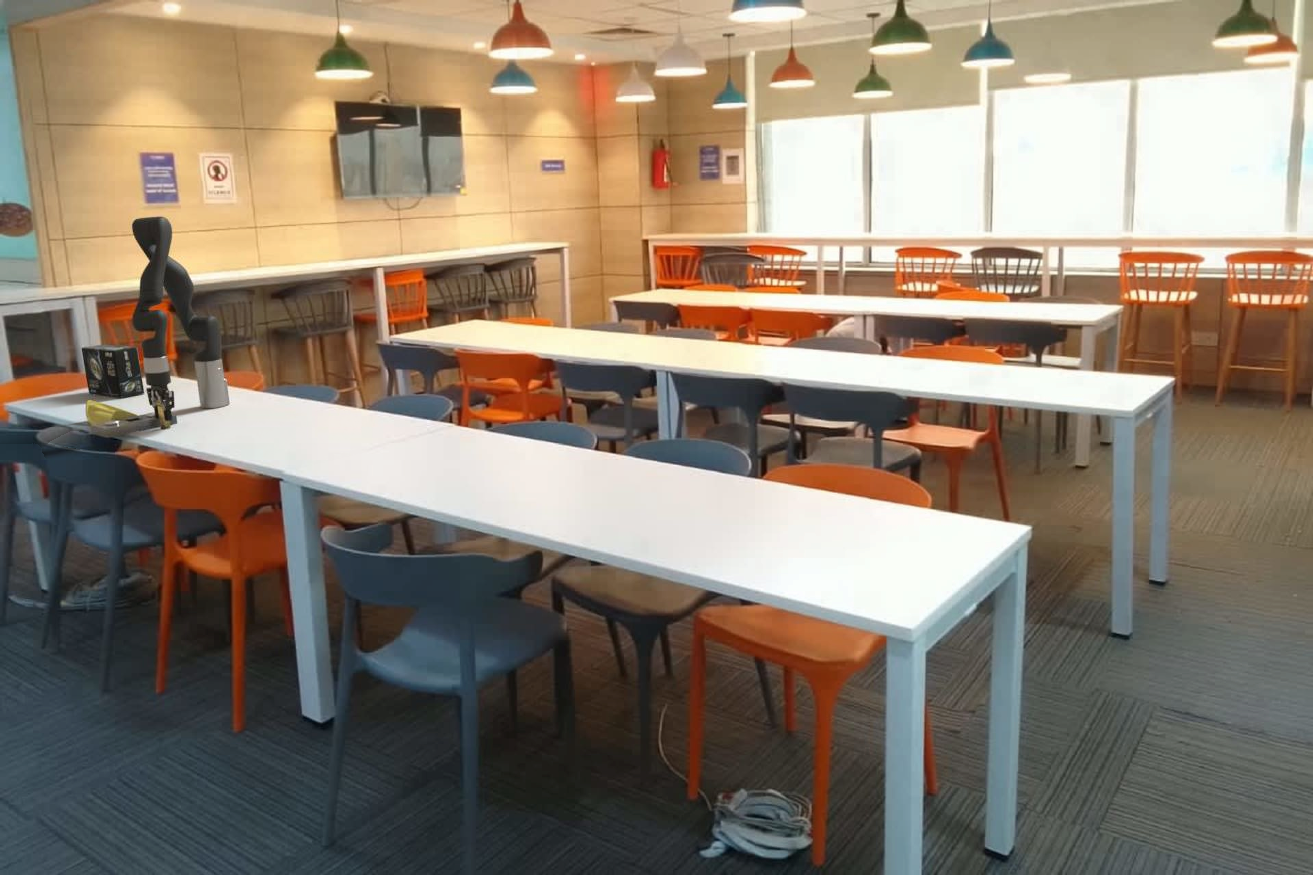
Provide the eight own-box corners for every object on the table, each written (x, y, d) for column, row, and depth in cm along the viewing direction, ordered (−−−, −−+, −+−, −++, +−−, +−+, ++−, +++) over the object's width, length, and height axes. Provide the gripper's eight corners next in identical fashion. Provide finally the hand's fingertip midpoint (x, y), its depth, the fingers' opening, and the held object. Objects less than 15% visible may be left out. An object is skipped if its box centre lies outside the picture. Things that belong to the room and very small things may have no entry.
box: (87, 394, 419) (80, 347, 414) (111, 389, 427) (104, 343, 422) (121, 399, 407) (114, 350, 402) (145, 394, 415) (138, 346, 410)
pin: (168, 426, 357) (164, 400, 354) (173, 427, 354) (170, 401, 352) (157, 428, 354) (153, 402, 351) (163, 430, 351) (159, 403, 349)
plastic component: (140, 416, 364) (113, 408, 355) (133, 436, 363) (106, 429, 355) (111, 405, 375) (84, 398, 367) (104, 425, 374) (76, 418, 366)
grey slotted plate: (161, 419, 367) (159, 409, 366) (177, 423, 361) (175, 412, 360) (90, 433, 349) (89, 422, 348) (106, 437, 342) (104, 426, 341)
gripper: (179, 370, 348) (185, 419, 352) (157, 366, 356) (163, 414, 361) (156, 373, 342) (164, 424, 346) (135, 369, 351) (142, 419, 355)
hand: (163, 419), depth 353 cm, fingers open, 5 cm apart
